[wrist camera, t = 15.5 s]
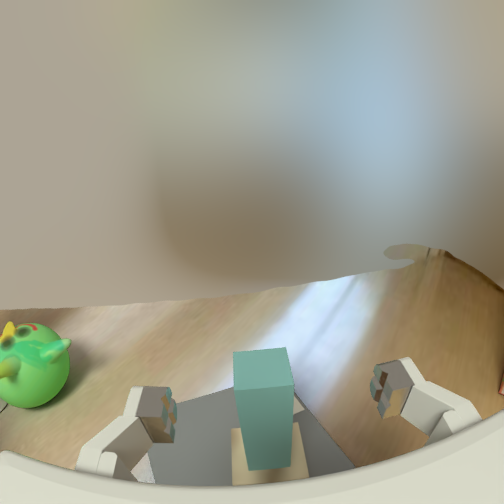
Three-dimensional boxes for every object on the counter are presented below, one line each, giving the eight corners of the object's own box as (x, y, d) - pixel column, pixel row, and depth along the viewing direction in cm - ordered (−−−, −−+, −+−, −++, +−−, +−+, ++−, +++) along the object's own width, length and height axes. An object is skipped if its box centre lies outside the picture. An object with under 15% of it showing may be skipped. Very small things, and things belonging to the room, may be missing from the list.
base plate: (175, 538, 22) (168, 533, 21) (140, 416, 41) (135, 404, 40) (354, 469, 30) (358, 460, 29) (278, 375, 49) (278, 362, 48)
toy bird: (58, 353, 54) (33, 295, 49) (99, 388, 46) (68, 323, 40) (-1, 394, 40) (-35, 335, 34) (29, 442, 32) (-18, 379, 26)
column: (248, 470, 30) (233, 390, 24) (246, 439, 34) (233, 352, 28) (290, 466, 30) (294, 384, 24) (285, 435, 34) (285, 347, 28)
